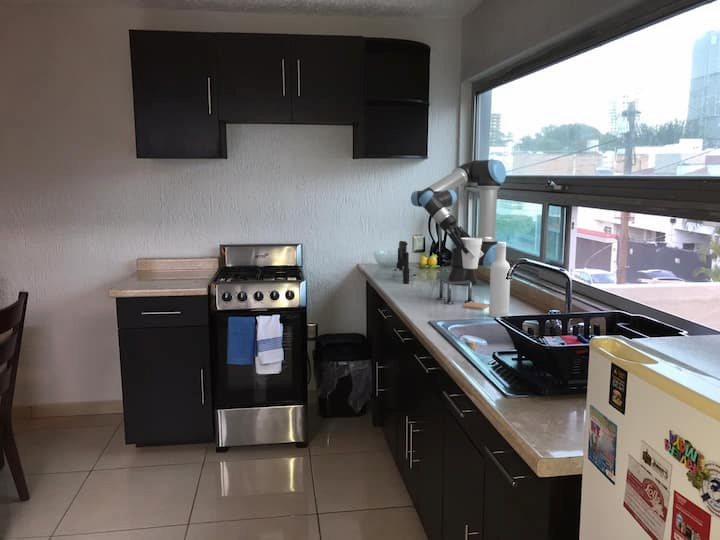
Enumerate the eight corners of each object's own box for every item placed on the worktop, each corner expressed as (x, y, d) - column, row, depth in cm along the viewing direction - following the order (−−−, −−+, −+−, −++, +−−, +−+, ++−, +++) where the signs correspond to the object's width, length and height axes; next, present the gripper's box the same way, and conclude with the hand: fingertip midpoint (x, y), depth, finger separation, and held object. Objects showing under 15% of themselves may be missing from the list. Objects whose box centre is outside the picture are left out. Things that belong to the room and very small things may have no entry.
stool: (389, 245, 303) (387, 239, 336) (388, 285, 306) (387, 275, 339) (419, 245, 303) (414, 239, 336) (418, 285, 306) (414, 275, 339)
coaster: (469, 304, 259) (469, 301, 259) (489, 306, 255) (489, 304, 255) (462, 307, 252) (462, 305, 252) (482, 310, 247) (482, 307, 247)
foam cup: (483, 267, 261) (484, 238, 259) (478, 269, 253) (479, 240, 251) (462, 265, 265) (463, 237, 263) (456, 268, 257) (457, 238, 255)
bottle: (505, 313, 240) (508, 241, 236) (511, 318, 233) (514, 243, 228) (486, 313, 240) (489, 241, 236) (491, 318, 232) (494, 243, 228)
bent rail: (438, 297, 273) (439, 277, 272) (475, 301, 264) (476, 280, 262) (428, 301, 264) (429, 280, 262) (466, 306, 254) (466, 284, 253)
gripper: (449, 224, 274) (480, 260, 268) (429, 226, 255) (461, 265, 249) (460, 213, 270) (492, 249, 264) (440, 215, 252) (474, 254, 246)
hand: (477, 257), depth 257 cm, fingers closed on foam cup, 9 cm apart
